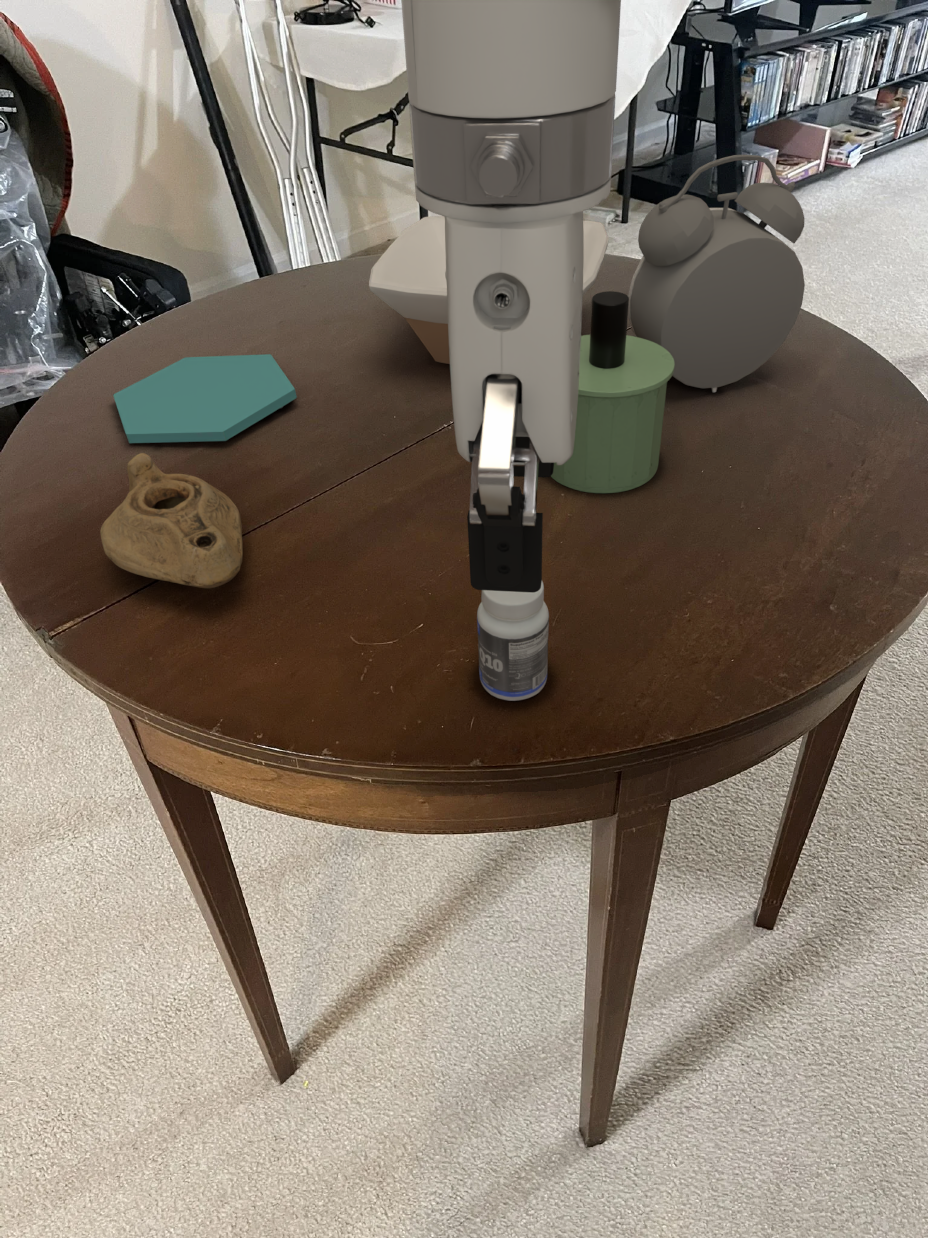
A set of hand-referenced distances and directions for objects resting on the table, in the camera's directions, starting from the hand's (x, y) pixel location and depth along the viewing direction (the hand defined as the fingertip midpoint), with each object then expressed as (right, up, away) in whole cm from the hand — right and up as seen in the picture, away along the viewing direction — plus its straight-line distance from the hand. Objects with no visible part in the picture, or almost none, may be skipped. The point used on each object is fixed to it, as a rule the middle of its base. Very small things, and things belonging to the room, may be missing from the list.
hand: (515, 526), depth 46 cm
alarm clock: (+23, +20, +51) cm, 59 cm away
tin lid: (+10, +17, +34) cm, 39 cm away
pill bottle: (+1, -9, +19) cm, 21 cm away
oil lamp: (-25, 0, +30) cm, 39 cm away
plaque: (-30, +18, +52) cm, 63 cm away
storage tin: (+10, +10, +40) cm, 42 cm away
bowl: (+1, +27, +60) cm, 66 cm away
